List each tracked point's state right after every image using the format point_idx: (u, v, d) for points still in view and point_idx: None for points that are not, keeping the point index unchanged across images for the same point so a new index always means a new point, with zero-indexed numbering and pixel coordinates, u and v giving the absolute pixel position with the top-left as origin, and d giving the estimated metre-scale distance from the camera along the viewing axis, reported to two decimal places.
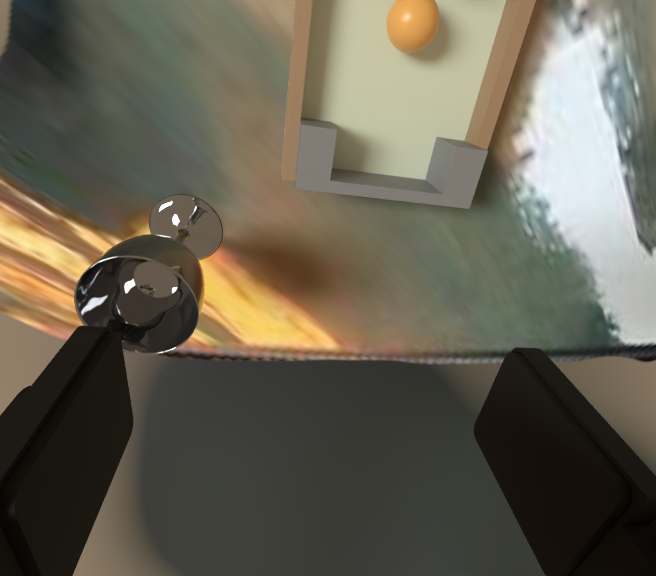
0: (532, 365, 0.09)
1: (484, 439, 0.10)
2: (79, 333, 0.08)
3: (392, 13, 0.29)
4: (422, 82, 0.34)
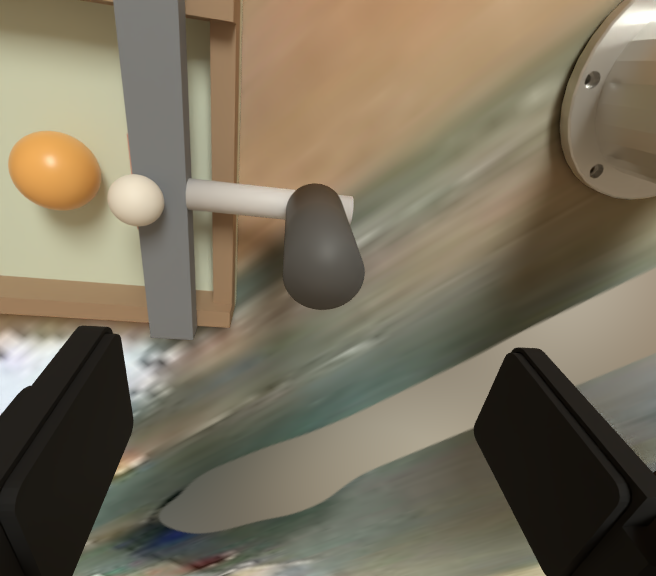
0: (532, 365, 0.09)
1: (484, 439, 0.10)
2: (79, 333, 0.08)
3: (47, 137, 0.19)
4: (13, 197, 0.23)
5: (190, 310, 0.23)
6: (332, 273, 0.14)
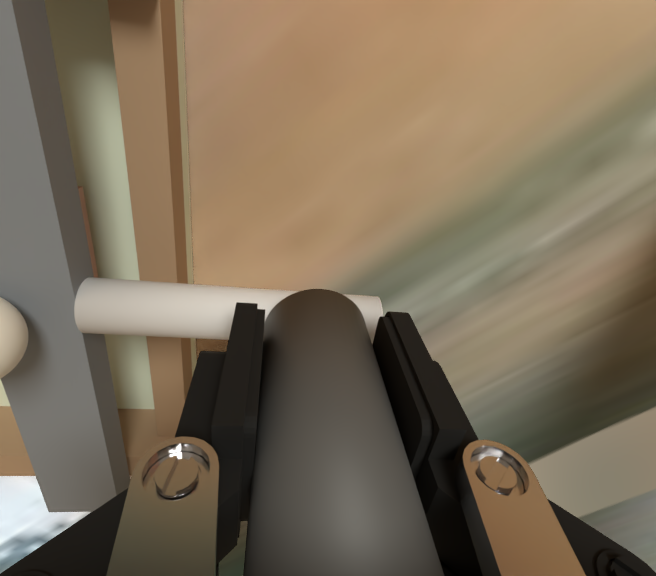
0: (396, 327, 0.10)
1: None
2: (240, 307, 0.09)
3: None
4: None
5: (110, 475, 0.14)
6: None
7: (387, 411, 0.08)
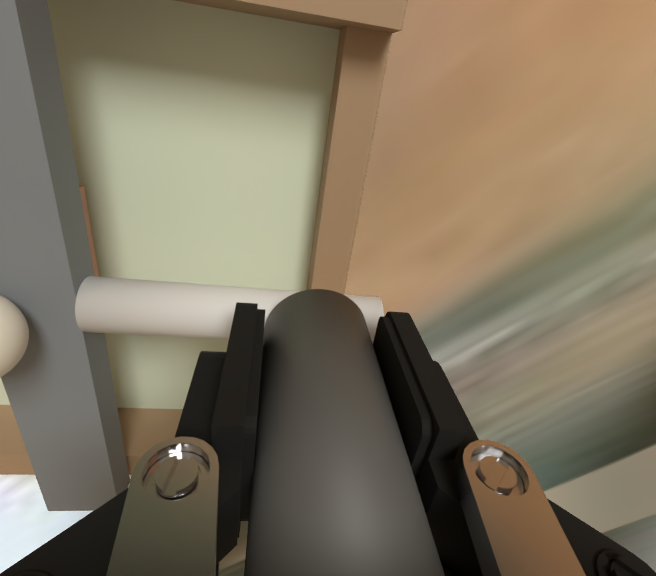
0: (396, 327, 0.10)
1: None
2: (240, 308, 0.09)
3: None
4: None
5: (109, 474, 0.14)
6: None
7: (388, 411, 0.08)
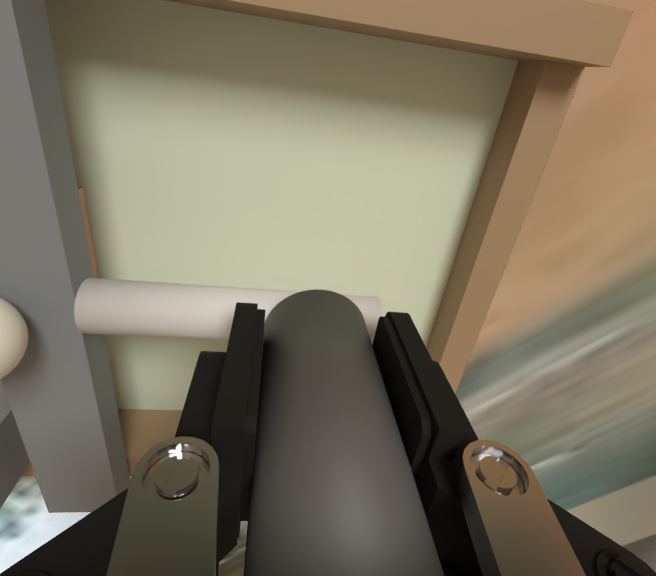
0: (396, 327, 0.10)
1: None
2: (240, 307, 0.09)
3: None
4: None
5: (110, 475, 0.14)
6: None
7: (387, 412, 0.08)
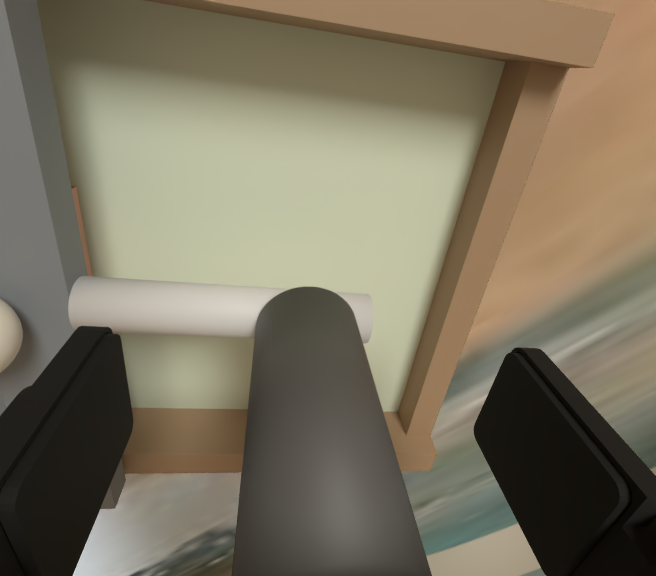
0: (532, 365, 0.09)
1: (484, 439, 0.10)
2: (79, 333, 0.08)
3: None
4: None
5: None
6: None
7: (375, 404, 0.08)
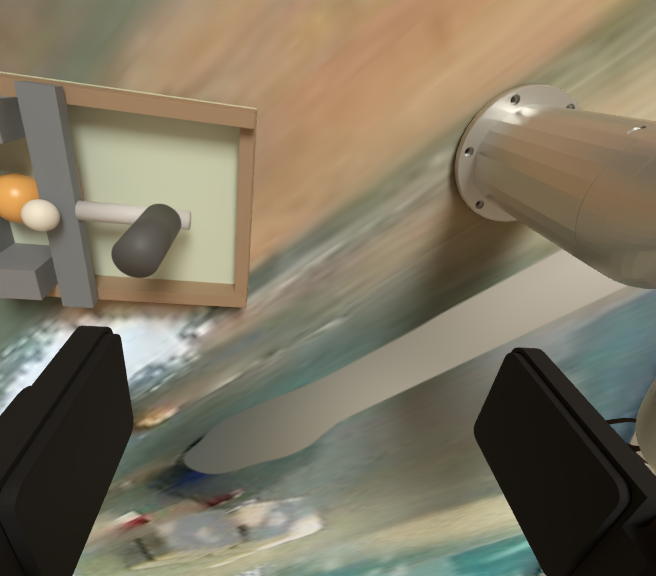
0: (532, 365, 0.09)
1: (484, 439, 0.10)
2: (79, 333, 0.08)
3: (25, 176, 0.31)
4: (108, 224, 0.36)
5: (88, 287, 0.34)
6: (140, 256, 0.26)
7: (162, 227, 0.28)
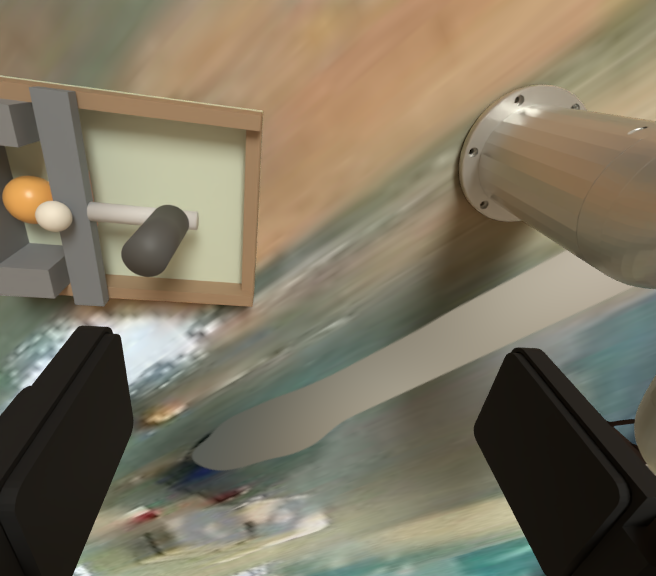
0: (532, 365, 0.09)
1: (484, 439, 0.10)
2: (79, 333, 0.08)
3: (38, 178, 0.32)
4: (118, 225, 0.37)
5: (99, 286, 0.35)
6: (149, 256, 0.27)
7: (170, 228, 0.29)
